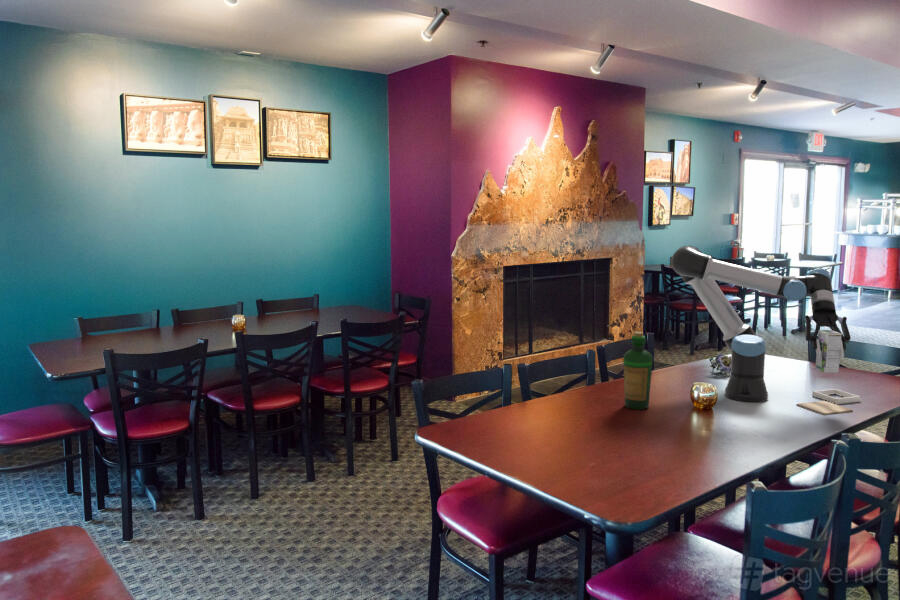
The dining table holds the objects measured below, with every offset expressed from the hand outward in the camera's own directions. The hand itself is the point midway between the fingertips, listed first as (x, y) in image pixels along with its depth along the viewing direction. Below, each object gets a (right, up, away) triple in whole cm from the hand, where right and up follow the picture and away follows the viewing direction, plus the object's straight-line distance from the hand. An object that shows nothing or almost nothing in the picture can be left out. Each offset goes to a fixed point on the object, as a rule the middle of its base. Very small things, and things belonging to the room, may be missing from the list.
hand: (830, 356), depth 226 cm
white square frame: (+12, -18, +17) cm, 28 cm away
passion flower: (-15, -13, +57) cm, 60 cm away
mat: (+1, -19, +6) cm, 20 cm away
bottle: (-66, -20, +11) cm, 69 cm away
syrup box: (+1, -6, +4) cm, 7 cm away
